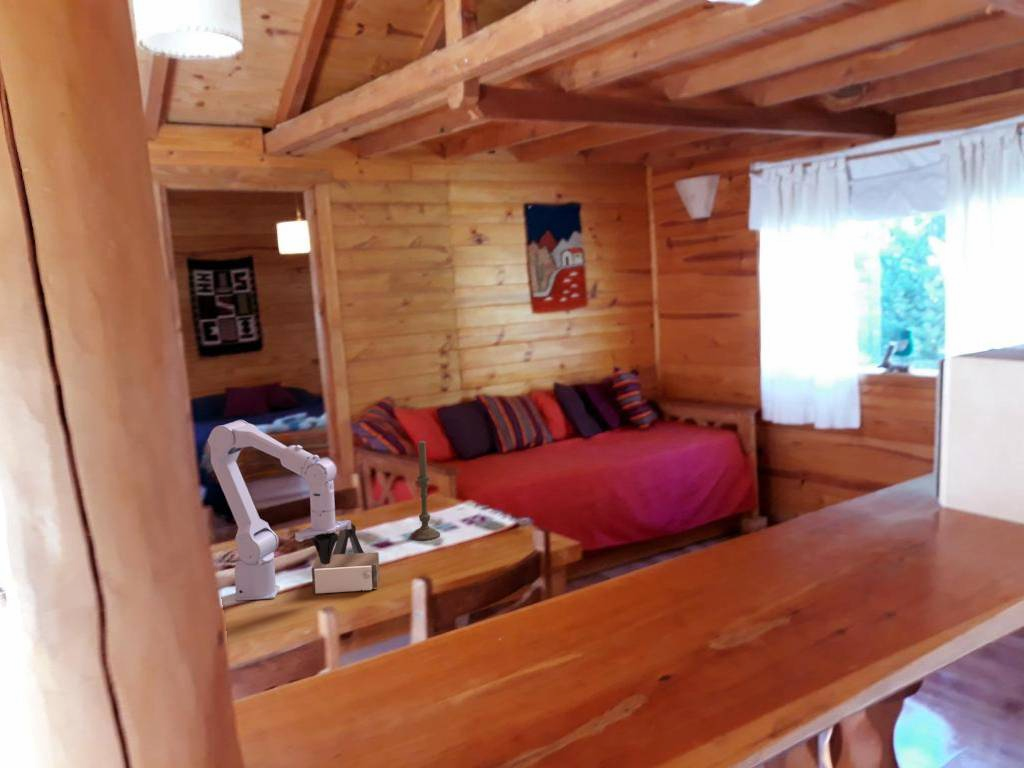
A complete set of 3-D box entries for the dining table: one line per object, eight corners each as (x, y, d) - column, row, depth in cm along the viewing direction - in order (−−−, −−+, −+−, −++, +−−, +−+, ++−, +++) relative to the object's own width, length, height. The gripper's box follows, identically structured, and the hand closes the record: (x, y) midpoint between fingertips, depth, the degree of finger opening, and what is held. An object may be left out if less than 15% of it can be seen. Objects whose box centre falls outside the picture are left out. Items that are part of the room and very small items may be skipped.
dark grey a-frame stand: (362, 558, 237) (360, 516, 236) (368, 564, 232) (366, 521, 231) (330, 563, 234) (328, 521, 232) (335, 569, 228) (333, 526, 227)
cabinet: (313, 593, 211) (311, 568, 210) (318, 579, 221) (316, 555, 220) (377, 589, 212) (376, 564, 212) (379, 576, 222) (378, 552, 222)
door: (315, 595, 209) (313, 571, 208) (316, 592, 211) (314, 568, 210) (372, 591, 210) (371, 568, 210) (372, 588, 212) (371, 565, 212)
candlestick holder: (407, 533, 260) (404, 438, 256) (436, 530, 262) (433, 435, 259) (413, 542, 251) (409, 443, 247) (443, 538, 254) (439, 440, 250)
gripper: (305, 518, 196) (307, 574, 198) (357, 506, 206) (359, 559, 208) (289, 513, 201) (292, 567, 203) (341, 501, 211) (343, 553, 213)
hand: (325, 563), depth 206 cm, fingers closed
